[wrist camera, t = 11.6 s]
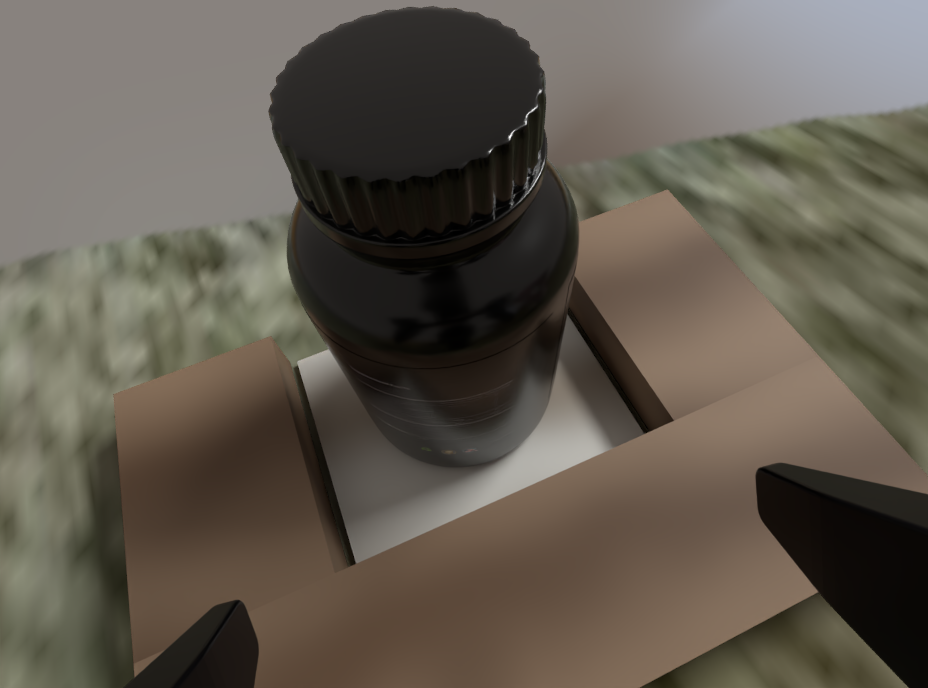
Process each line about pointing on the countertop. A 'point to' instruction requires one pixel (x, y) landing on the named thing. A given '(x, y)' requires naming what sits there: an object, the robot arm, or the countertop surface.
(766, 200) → the countertop surface
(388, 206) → the supplement bottle
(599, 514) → the notched shelf board
